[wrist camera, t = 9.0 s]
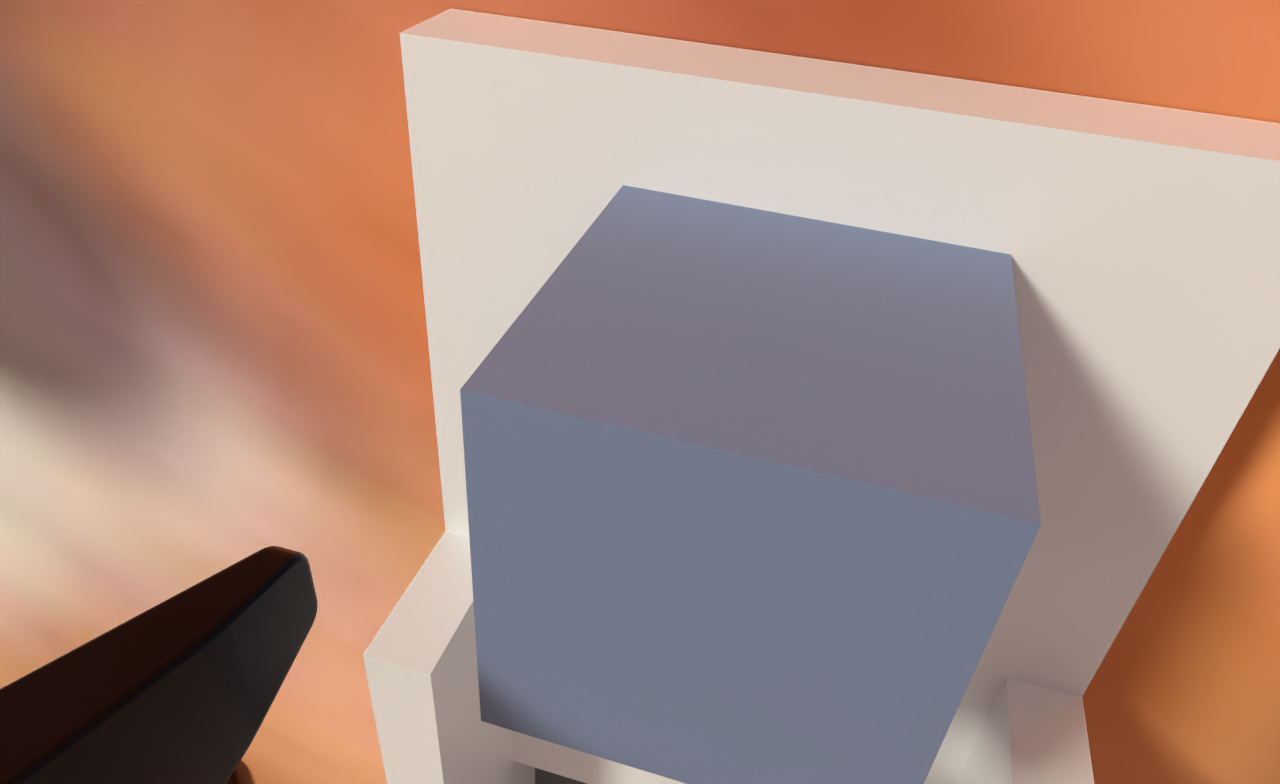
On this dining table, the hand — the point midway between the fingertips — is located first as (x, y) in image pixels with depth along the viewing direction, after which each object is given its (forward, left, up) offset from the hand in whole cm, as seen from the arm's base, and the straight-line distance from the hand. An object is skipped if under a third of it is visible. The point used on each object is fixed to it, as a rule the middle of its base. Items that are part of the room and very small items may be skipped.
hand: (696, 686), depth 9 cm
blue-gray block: (+1, 0, -5) cm, 5 cm away
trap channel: (-7, 0, -7) cm, 10 cm away
